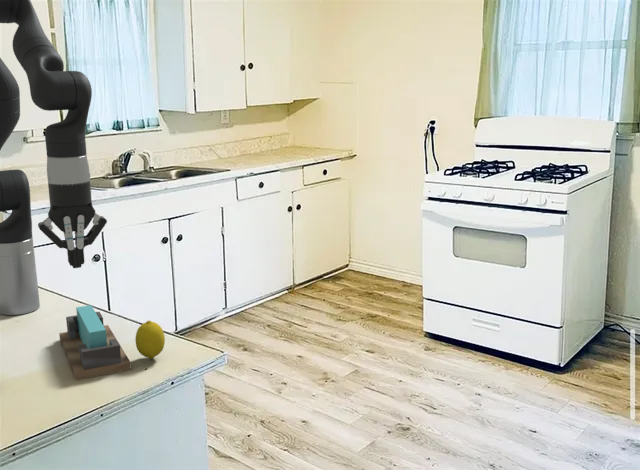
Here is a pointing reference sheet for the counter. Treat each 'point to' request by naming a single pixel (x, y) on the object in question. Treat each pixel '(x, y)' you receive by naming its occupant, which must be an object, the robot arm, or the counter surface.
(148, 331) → the lemon
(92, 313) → the slat
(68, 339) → the slat frame
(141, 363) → the counter surface
